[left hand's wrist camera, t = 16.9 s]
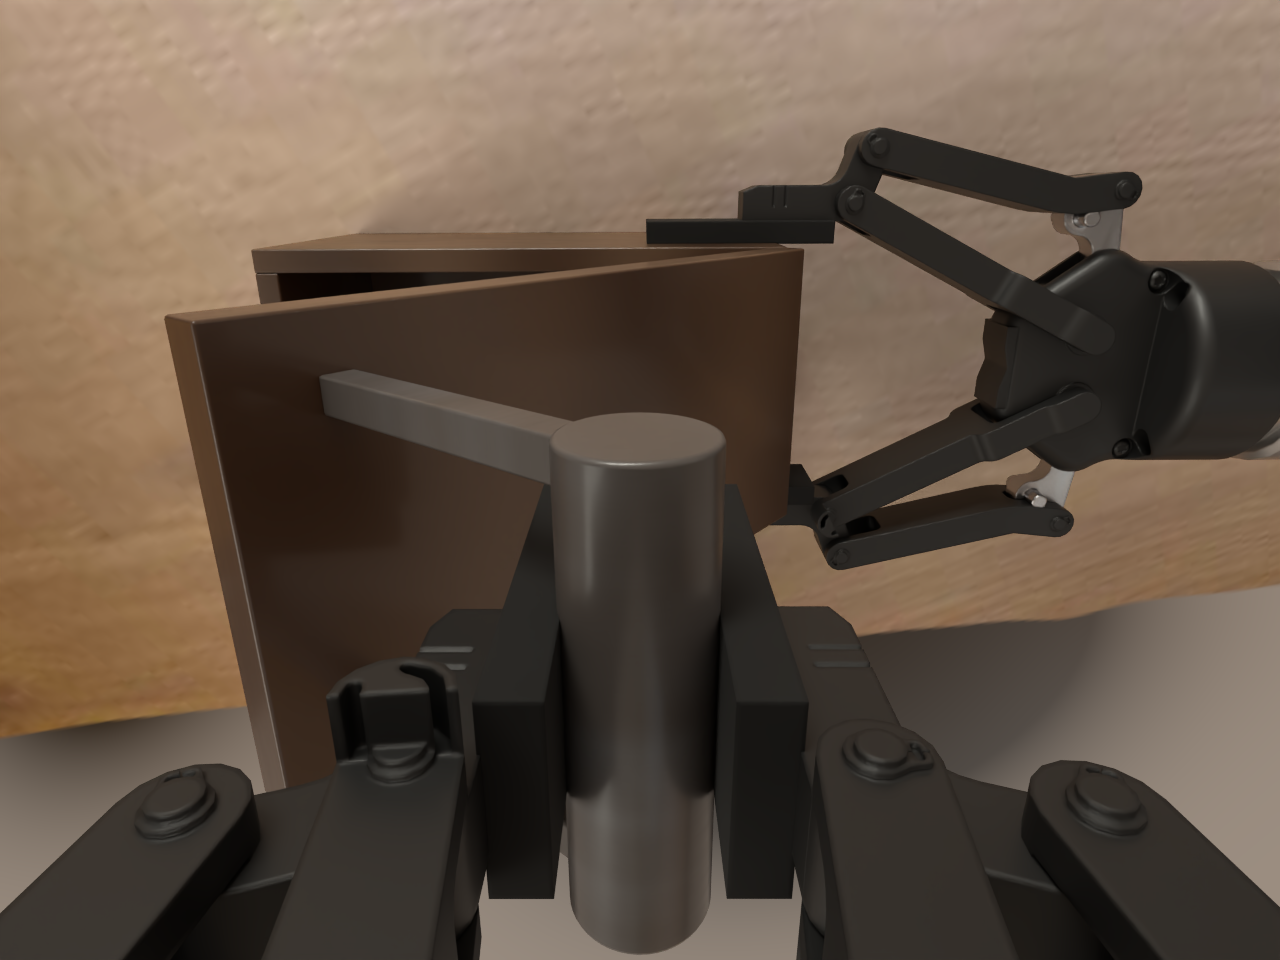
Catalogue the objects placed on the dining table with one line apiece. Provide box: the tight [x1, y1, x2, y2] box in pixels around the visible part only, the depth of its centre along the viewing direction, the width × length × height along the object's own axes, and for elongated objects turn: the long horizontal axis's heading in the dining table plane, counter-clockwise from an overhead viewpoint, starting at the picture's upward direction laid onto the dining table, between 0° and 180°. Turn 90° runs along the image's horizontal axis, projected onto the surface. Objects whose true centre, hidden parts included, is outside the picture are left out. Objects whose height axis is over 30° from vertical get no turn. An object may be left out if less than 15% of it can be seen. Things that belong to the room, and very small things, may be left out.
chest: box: [252, 232, 786, 304], centre depth 32 cm, size 18×9×10 cm, turn 90°
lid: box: [164, 248, 804, 955], centre depth 18 cm, size 18×9×9 cm
